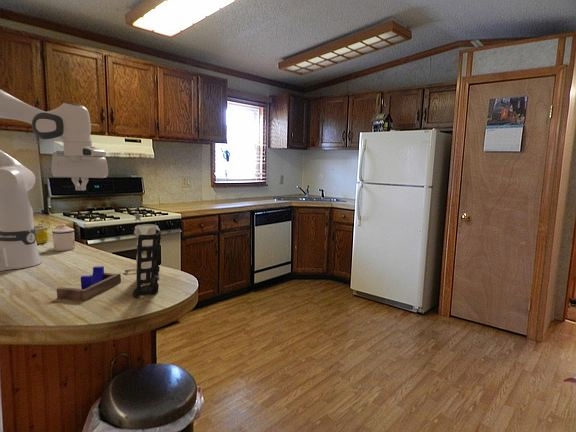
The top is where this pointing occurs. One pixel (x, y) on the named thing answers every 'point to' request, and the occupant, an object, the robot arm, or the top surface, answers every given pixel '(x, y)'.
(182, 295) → the top surface
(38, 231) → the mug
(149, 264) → the water bottle
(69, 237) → the teacup with lid
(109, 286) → the bracket
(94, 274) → the cable clip
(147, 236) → the holder
